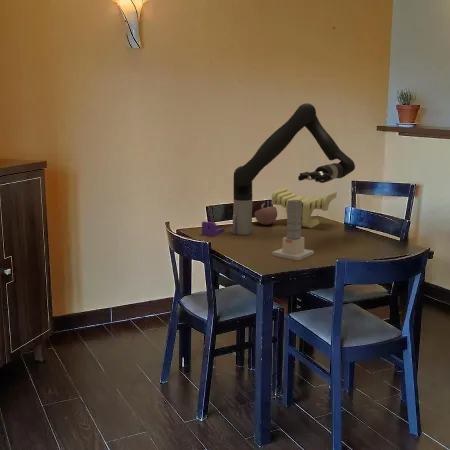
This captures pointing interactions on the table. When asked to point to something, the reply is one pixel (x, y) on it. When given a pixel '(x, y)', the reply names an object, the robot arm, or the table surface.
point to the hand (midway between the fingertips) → (307, 178)
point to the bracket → (210, 229)
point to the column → (294, 219)
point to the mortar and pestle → (266, 215)
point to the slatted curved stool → (303, 204)
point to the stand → (293, 249)
